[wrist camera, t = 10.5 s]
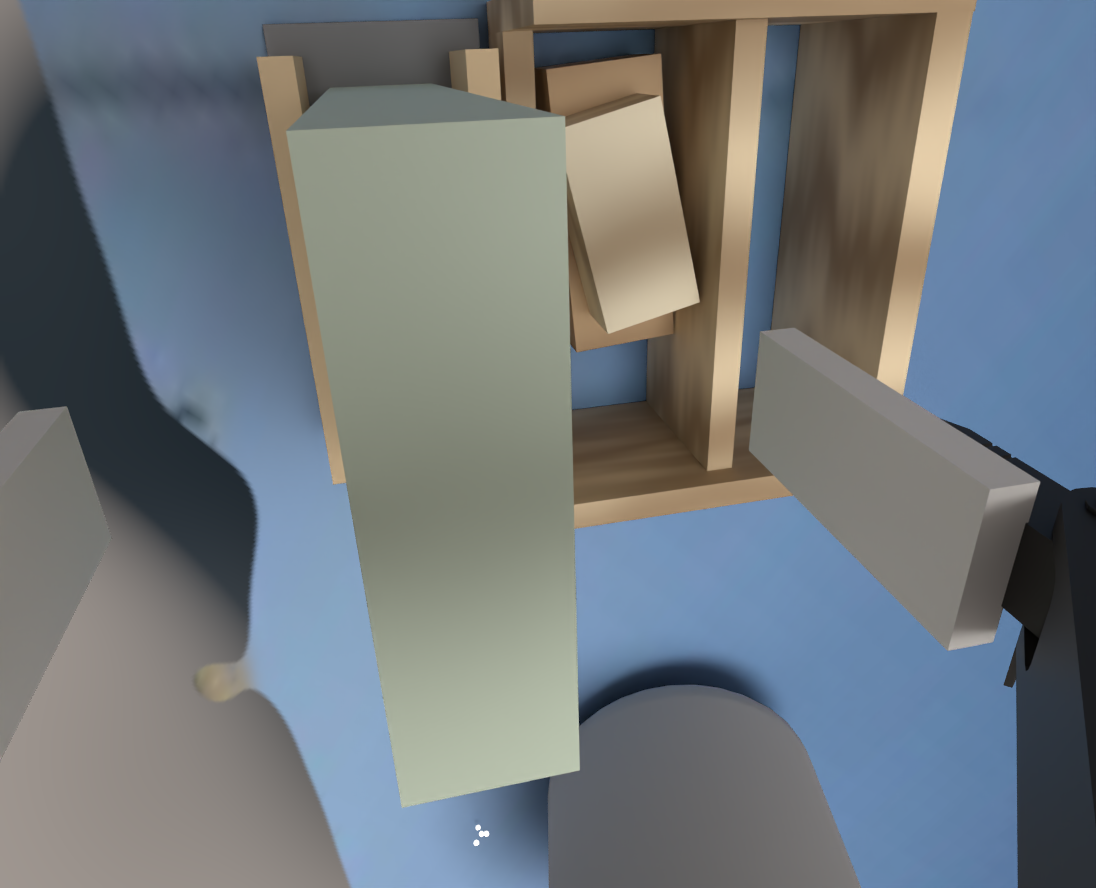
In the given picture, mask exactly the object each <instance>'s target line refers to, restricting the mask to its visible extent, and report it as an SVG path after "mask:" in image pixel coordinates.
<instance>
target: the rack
mask: <svg viewBox="0 0 1096 888" xmlns="http://www.w3.org/2000/svg"><path fill="white" fill-rule="evenodd" d="M976 1H977V0H491V1H488V2H486V3H487V19H488V36H489V49H493V48H498V52H499V70H500V87H501V101H505V102H509V103H513V104H517V105H521V106H525V107H530V108H534V109H536V100H535V74H534V47H533V33H553V32H584V31H615V30H646V29H655V51H654V54H661V60H662V82H663V104H664V116H665V122H666V127H667V132H668V137H669V142H670V148H671V153H672V158H673V163H674V169H675V174H676V179H677V184H678V190H679V195H680V200H681V205H682V210H683V216H684V221H685V226H686V231H687V237H688V242H689V247H690V252H691V258H692V263H693V268H694V273H695V278H696V284H697V289H698V294H699V299H700V302H699V303H696V304H693V305H690V306H687V307H685V308H682V309H679V310H676V311H673V324H674V334H669V335H664V336H659V337H654V338H648V345H647V387H646V401H642V402H634V403H625V404H617V405H609V406H601V407H593V408H585V409H577V410H572V445H573V489H574V529H576V528H582V527H589V526H595V525H602V524H609V523H615V522H622V521H628V520H635V519H642V518H648V517H655V516H661V515H668V514H674V513H681V512H688V511H694V510H701V509H707V508H714V507H721V506H727V505H734V504H740V503H747V502H753V501H760V500H767V499H773V498H780V497H786V496H793V494H792V493H791V492H790V491H789V490H788V489H787V488H786V487H785V486H784V485H783V484H782V483H781V482H780V481H779V480H778V479H777V478H776V477H775V476H774V475H773V474H772V473H771V472H770V471H769V470H768V469H767V468H766V467H765V466H764V465H763V464H762V463H761V462H760V461H759V460H758V459H757V458H756V457H755V456H754V455H753V454H752V453H751V452H750V451H749V442H750V432H751V422H752V411H753V401H754V391H755V388H747V389H739V390H738V385H739V373H740V360H741V348H742V336H743V323H744V311H745V298H746V286H747V273H748V261H749V249H750V236H751V224H752V211H753V199H754V186H755V174H756V162H757V149H758V137H759V124H760V112H761V99H762V87H763V75H764V62H765V50H766V37H767V26H769V25H800V24H801V27H800V37H799V48H798V58H797V68H796V78H795V89H794V99H793V109H792V120H791V130H790V140H789V150H788V161H787V171H786V181H785V192H784V202H783V212H782V222H781V233H780V243H779V253H778V264H777V274H776V284H775V294H774V305H773V315H772V325H771V330H778V329H787V328H796V329H797V330H799V331H801V332H802V333H804V334H805V335H807V336H809V337H810V338H812V339H813V340H815V341H817V342H818V343H820V344H821V345H823V346H825V347H826V348H828V349H829V350H831V351H833V352H834V353H836V354H837V355H839V356H841V357H842V358H844V359H845V360H847V361H849V362H850V363H852V364H853V365H855V366H857V367H858V368H860V369H861V370H863V371H865V372H866V373H868V374H869V375H871V376H873V377H874V378H876V379H877V380H879V381H881V382H882V383H884V384H885V385H887V386H888V387H890V388H892V389H893V390H895V391H896V392H898V393H900V394H901V395H903V392H904V387H905V381H906V376H907V370H908V365H909V359H910V354H911V349H912V343H913V338H914V332H915V327H916V321H917V316H918V310H919V305H920V299H921V294H922V288H923V283H924V277H925V272H926V267H927V261H928V256H929V250H930V245H931V239H932V234H933V228H934V223H935V217H936V212H937V206H938V201H939V195H940V190H941V184H942V179H943V174H944V168H945V163H946V157H947V152H948V146H949V141H950V135H951V130H952V124H953V119H954V113H955V108H956V102H957V97H958V91H959V86H960V81H961V75H962V70H963V64H964V59H965V53H966V48H967V42H968V37H969V31H970V26H971V20H972V15H973V11H975V7H976Z"/></svg>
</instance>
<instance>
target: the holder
mask: <svg viewBox="0 0 1096 888" xmlns="http://www.w3.org/2000/svg"><path fill="white" fill-rule="evenodd" d="M263 31H264V37H265V42H266V48H267V54H268V57H257V63H258V69H259V74H260V80H261V85H262V91H263V96H264V102H265V107H266V113H267V119H268V124H269V130H270V135H271V141H272V146H273V152H274V157H275V163H276V169H277V174H278V180H279V185H280V191H281V196H282V202H283V207H284V213H285V219H286V224H287V230H288V235H289V241H290V246H291V252H292V257H293V263H294V269H295V274H296V280H297V285H298V291H299V296H300V302H301V307H302V313H303V319H304V324H305V330H306V335H307V341H308V346H309V352H310V357H311V363H312V369H313V374H314V380H315V385H316V391H317V396H318V402H319V407H320V413H321V419H322V424H323V430H324V435H325V441H326V446H327V452H328V458H329V463H330V469H331V474H332V480H333V484H340V483H346V478H345V472H344V467H343V461H342V455H341V449H340V443H339V437H338V432H337V426H336V420H335V414H334V408H333V402H332V397H331V391H330V385H329V379H328V373H327V367H326V362H325V356H324V350H323V344H322V338H321V332H320V327H319V321H318V315H317V309H316V303H315V297H314V291H313V286H312V280H311V274H310V268H309V262H308V256H307V251H306V245H305V239H304V233H303V227H302V221H301V216H300V210H299V204H298V198H297V192H296V186H295V181H294V175H293V169H292V163H291V157H290V151H289V146H288V140H287V134H286V130H287V129H288V128H289V127H290V126H292V125H293V124H294V123H295V122H296V121H297V120H298V119H299V118H300V117H301V116H302V115H303V114H304V113H305V112H306V111H307V110H308V109H309V108H310V107H311V106H312V105H313V104H314V103H315V102H316V101H317V100H318V99H319V98H320V97H321V96H322V95H323V94H324V93H325V92H326V91H327V90H328V89H329V88H333V87H356V86H380V85H403V84H426V83H432V84H436V85H440V86H444V87H448V88H452V89H456V90H460V91H464V92H469V93H473V94H477V95H481V96H485V97H489V98H493V99H497V100H501V87H500V70H499V52H498V48H493V49H480V44H479V29H478V18H474V19H439V20H404V21H369V22H334V23H299V24H264V25H263Z"/></svg>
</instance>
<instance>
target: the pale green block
mask: <svg viewBox="0 0 1096 888" xmlns="http://www.w3.org/2000/svg"><path fill="white" fill-rule="evenodd" d="M286 134H287V140H288V146H289V151H290V157H291V163H292V169H293V175H294V181H295V186H296V192H297V198H298V204H299V210H300V216H301V221H302V227H303V233H304V239H305V245H306V251H307V256H308V262H309V268H310V274H311V280H312V286H313V291H314V297H315V303H316V309H317V315H318V321H319V327H320V332H321V338H322V344H323V350H324V356H325V362H326V367H327V373H328V379H329V385H330V391H331V397H332V402H333V408H334V414H335V420H336V426H337V432H338V437H339V443H340V449H341V455H342V461H343V467H344V472H345V478H346V484H347V490H348V496H349V502H350V507H351V513H352V519H353V525H354V531H355V537H356V543H357V548H358V554H359V560H360V566H361V572H362V578H363V583H364V589H365V595H366V601H367V607H368V613H369V618H370V624H371V630H372V636H373V642H374V648H375V653H376V659H377V665H378V671H379V677H380V683H381V688H382V694H383V700H384V706H385V712H386V718H387V723H388V729H389V735H390V741H391V747H392V753H393V759H394V764H395V770H396V776H397V782H398V788H399V794H400V799H401V805H402V808H403V807H408V806H413V805H417V804H422V803H427V802H432V801H436V800H441V799H446V798H451V797H456V796H460V795H465V794H470V793H475V792H479V791H484V790H489V789H494V788H498V787H503V786H508V785H513V784H517V783H522V782H527V781H532V780H536V779H541V778H546V777H551V776H555V775H560V774H565V773H570V772H574V771H579V770H580V755H579V711H578V667H577V622H576V578H575V534H574V489H573V445H572V401H571V356H570V312H569V268H568V223H567V179H566V135H565V116H562V115H558V114H554V113H550V112H546V111H542V110H538V109H534V108H530V107H525V106H521V105H517V104H513V103H509V102H505V101H501V100H497V99H493V98H489V97H485V96H481V95H477V94H473V93H469V92H464V91H460V90H456V89H452V88H448V87H444V86H440V85H436V84H432V83H426V84H403V85H380V86H356V87H333V88H329V89H328V90H327V91H326V92H325V93H324V94H323V95H322V96H321V97H320V98H319V99H318V100H317V101H316V102H315V103H314V104H313V105H312V106H311V107H310V108H309V109H308V110H307V111H306V112H305V113H304V114H303V115H302V116H301V117H300V118H299V119H298V120H297V121H296V122H295V123H294V124H293V125H292V126H290V127H289V128H288V129H287V130H286Z"/></svg>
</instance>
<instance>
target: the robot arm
mask: <svg viewBox="0 0 1096 888" xmlns="http://www.w3.org/2000/svg"><path fill="white" fill-rule="evenodd" d="M749 451H750V452H751V453H752V454H753V455H754V456H755V457H756V458H757V459H758V460H759V461H760V462H761V463H762V464H763V465H764V466H765V467H766V468H767V469H768V470H769V471H770V472H771V473H772V474H773V475H774V476H775V477H776V478H777V479H778V480H779V481H780V482H781V483H782V484H783V485H784V486H785V487H786V488H787V489H788V490H789V491H790V492H791V493H792V494H793V495H794V496H795V497H796V498H797V499H798V500H799V501H800V502H801V503H802V504H803V505H804V506H805V507H806V508H807V509H808V510H809V511H810V513H811V514H812V515H813V516H814V517H815V518H816V519H817V520H818V521H819V522H820V523H821V524H822V525H823V526H824V527H825V528H826V529H827V530H828V531H829V532H830V533H831V534H832V535H833V536H834V537H835V538H836V539H837V540H838V541H839V542H840V543H841V544H842V545H843V546H844V547H845V548H846V549H847V550H848V551H849V552H850V553H851V554H852V555H853V556H854V557H855V558H856V559H857V560H858V561H859V562H860V563H861V564H862V565H863V566H864V567H865V568H866V569H867V570H868V571H869V572H870V573H871V574H872V575H873V576H874V577H875V578H876V579H877V580H878V581H879V582H880V583H881V584H882V585H883V586H884V587H885V588H886V589H887V590H888V591H889V592H890V593H891V594H892V595H893V596H894V597H895V598H896V599H897V600H898V601H899V602H900V603H901V604H902V605H903V606H904V607H905V608H906V609H907V610H908V611H909V612H910V613H911V614H912V615H913V616H914V617H915V618H916V619H917V620H918V621H919V622H920V623H921V625H922V626H923V627H924V628H925V629H926V630H927V631H928V632H929V633H930V634H931V635H932V636H933V637H934V638H935V639H936V640H937V641H938V642H939V643H940V644H941V645H942V646H943V647H944V648H945V649H946V650H947V651H950V650H955V649H960V648H965V647H970V646H975V645H980V644H985V643H990V642H993V640H994V637H995V634H996V630H997V627H998V624H999V620H1000V617H1001V613H1002V610H1003V608H1004V609H1005V610H1006V611H1008V612H1009V613H1010V614H1011V615H1012V616H1013V617H1015V618H1016V619H1017V620H1018V621H1019V622H1020V623H1022V624H1023V625H1022V628H1021V631H1020V635H1019V638H1018V641H1017V644H1016V647H1015V651H1014V654H1013V657H1012V660H1011V663H1010V666H1009V670H1008V673H1007V676H1006V679H1005V682H1004V685H1005V686H1008V687H1013V685H1014V683H1015V680H1016V708H1017V841H1018V888H1096V488H1094V487H1090V488H1079V489H1074V490H1072V491H1070V490H1068V489H1066V488H1065V487H1063V486H1061V485H1060V484H1058V483H1056V482H1055V481H1053V480H1052V479H1050V478H1048V477H1047V476H1045V475H1043V474H1042V473H1040V472H1039V471H1037V470H1035V469H1034V468H1032V467H1030V466H1029V465H1027V464H1025V463H1024V462H1022V461H1021V460H1019V459H1017V458H1016V457H1015V458H1011V454H1009V453H1008V452H1006V451H1004V450H1003V449H1001V448H999V447H998V446H992V443H991V442H990V441H988V440H986V439H985V438H983V437H981V436H980V435H978V434H977V433H975V432H973V431H972V430H970V429H968V428H965V427H962V426H959V425H957V424H954V423H951V422H948V421H945V420H943V419H940V418H938V417H936V416H935V415H933V414H932V413H930V412H928V411H927V410H925V409H924V408H922V407H920V406H919V405H917V404H916V403H914V402H912V401H911V400H909V399H908V398H906V397H904V396H903V395H901V394H900V393H898V392H896V391H895V390H893V389H892V388H890V387H888V386H887V385H885V384H884V383H882V382H881V381H879V380H877V379H876V378H874V377H873V376H871V375H869V374H868V373H866V372H865V371H863V370H861V369H860V368H858V367H857V366H855V365H853V364H852V363H850V362H849V361H847V360H845V359H844V358H842V357H841V356H839V355H837V354H836V353H834V352H833V351H831V350H829V349H828V348H826V347H825V346H823V345H821V344H820V343H818V342H817V341H815V340H813V339H812V338H810V337H809V336H807V335H805V334H804V333H802V332H801V331H799V330H797V329H796V328H787V329H778V330H768V331H760V339H759V350H758V360H757V370H756V381H755V391H754V401H753V411H752V422H751V432H750V442H749ZM111 538H112V537H111V534H110V531H109V528H108V525H107V522H106V519H105V516H104V513H103V510H102V508H101V505H100V502H99V499H98V496H97V493H96V490H95V487H94V484H93V482H92V479H91V475H90V473H89V470H88V467H87V464H86V461H85V458H84V455H83V452H82V450H81V446H80V443H79V441H78V438H77V435H76V432H75V429H74V426H73V423H72V420H71V417H70V414H69V411H68V409H67V407H58V408H50V409H41V410H40V409H39V410H30V411H21V412H18V413H17V414H16V415H15V416H14V418H13V419H12V420H11V421H10V422H9V423H8V424H7V425H6V426H5V427H4V428H3V429H2V430H1V431H0V761H1V759H2V757H3V755H4V753H5V751H6V749H7V747H8V745H9V743H10V741H11V739H12V737H13V735H14V733H15V731H16V729H17V727H18V725H19V723H20V721H21V719H22V717H23V715H24V713H25V711H26V709H27V707H28V705H29V703H30V700H31V699H32V696H33V695H34V693H35V691H36V689H37V687H38V685H39V683H40V681H41V679H42V677H43V675H44V672H45V671H46V669H47V667H48V665H49V663H50V660H51V659H52V657H53V655H54V653H55V651H56V649H57V647H58V645H59V643H60V641H61V639H62V637H63V634H64V633H65V631H66V629H67V627H68V625H69V623H70V620H71V619H72V617H73V615H74V613H75V611H76V609H77V606H78V605H79V603H80V601H81V598H82V597H83V594H84V593H85V591H86V589H87V587H88V585H89V583H90V580H91V579H92V577H93V575H94V573H95V571H96V569H97V567H98V565H99V562H100V561H101V559H102V557H103V555H104V553H105V550H106V549H107V547H108V545H109V543H110V540H111Z"/></svg>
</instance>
